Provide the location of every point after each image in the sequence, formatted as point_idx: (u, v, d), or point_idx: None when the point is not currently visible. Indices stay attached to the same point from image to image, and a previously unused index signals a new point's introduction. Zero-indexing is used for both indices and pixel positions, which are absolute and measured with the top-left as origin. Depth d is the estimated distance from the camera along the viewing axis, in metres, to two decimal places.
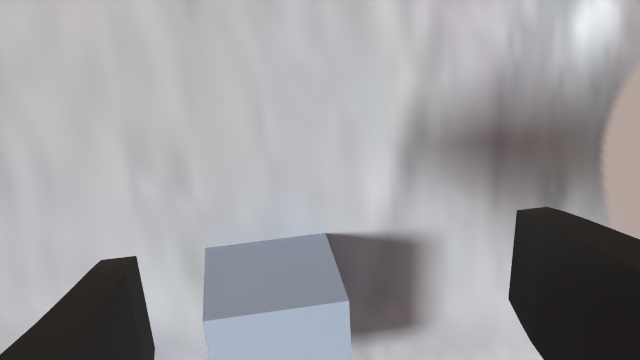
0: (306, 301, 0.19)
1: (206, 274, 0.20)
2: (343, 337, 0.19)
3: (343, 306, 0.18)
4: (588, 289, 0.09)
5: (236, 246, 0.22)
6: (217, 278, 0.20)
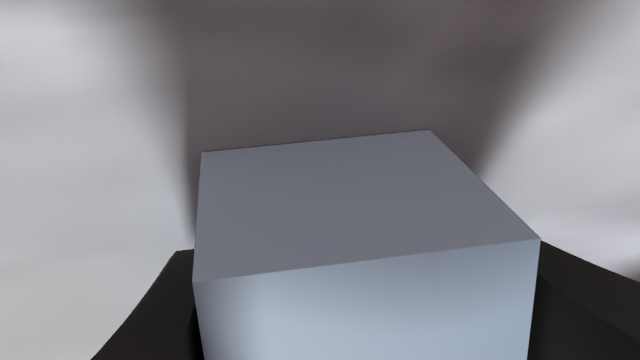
0: (206, 351, 0.08)
1: None
2: (305, 284, 0.07)
3: (209, 293, 0.07)
4: None
5: None
6: None
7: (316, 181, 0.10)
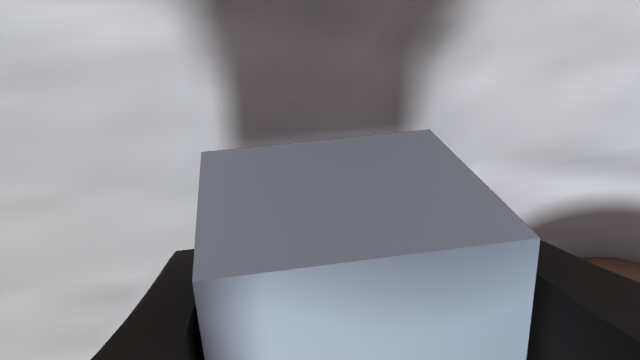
0: (205, 350, 0.08)
1: None
2: (305, 283, 0.07)
3: (209, 292, 0.07)
4: None
5: None
6: None
7: (316, 181, 0.10)
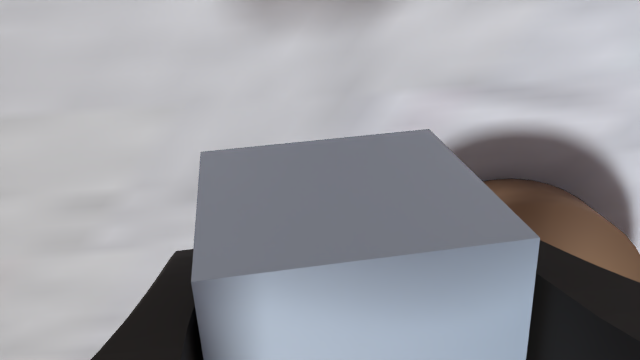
0: (204, 350, 0.08)
1: None
2: (304, 283, 0.07)
3: (208, 292, 0.07)
4: None
5: None
6: None
7: (315, 181, 0.10)
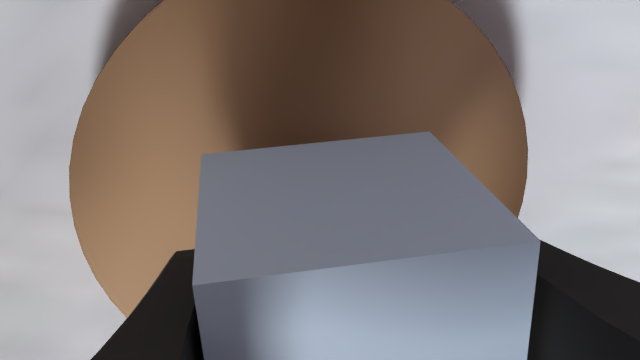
0: (205, 354, 0.08)
1: None
2: (305, 287, 0.07)
3: (209, 296, 0.07)
4: None
5: None
6: None
7: (316, 184, 0.10)
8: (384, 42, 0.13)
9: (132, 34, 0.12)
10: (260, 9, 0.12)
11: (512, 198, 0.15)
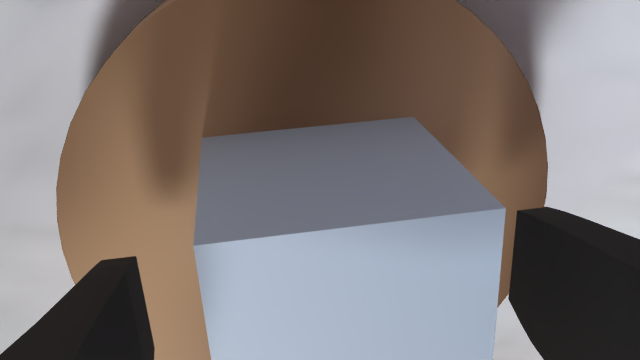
0: (205, 310, 0.09)
1: None
2: (294, 248, 0.08)
3: (208, 255, 0.08)
4: (588, 289, 0.09)
5: None
6: None
7: (307, 161, 0.11)
8: (396, 52, 0.12)
9: (123, 44, 0.11)
10: (262, 17, 0.11)
11: None
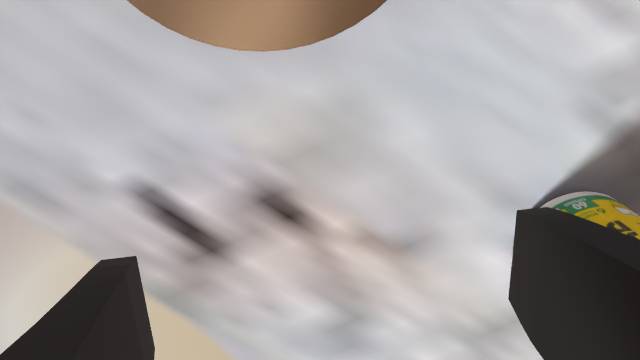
0: None
1: None
2: None
3: None
4: (588, 289, 0.09)
5: None
6: None
7: None
8: None
9: None
10: None
11: None
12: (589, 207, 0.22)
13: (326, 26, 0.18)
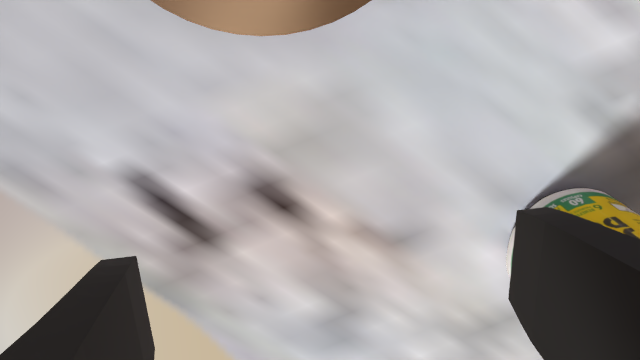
0: None
1: None
2: None
3: None
4: (588, 289, 0.09)
5: None
6: None
7: None
8: None
9: None
10: None
11: None
12: (586, 203, 0.22)
13: (325, 12, 0.17)
